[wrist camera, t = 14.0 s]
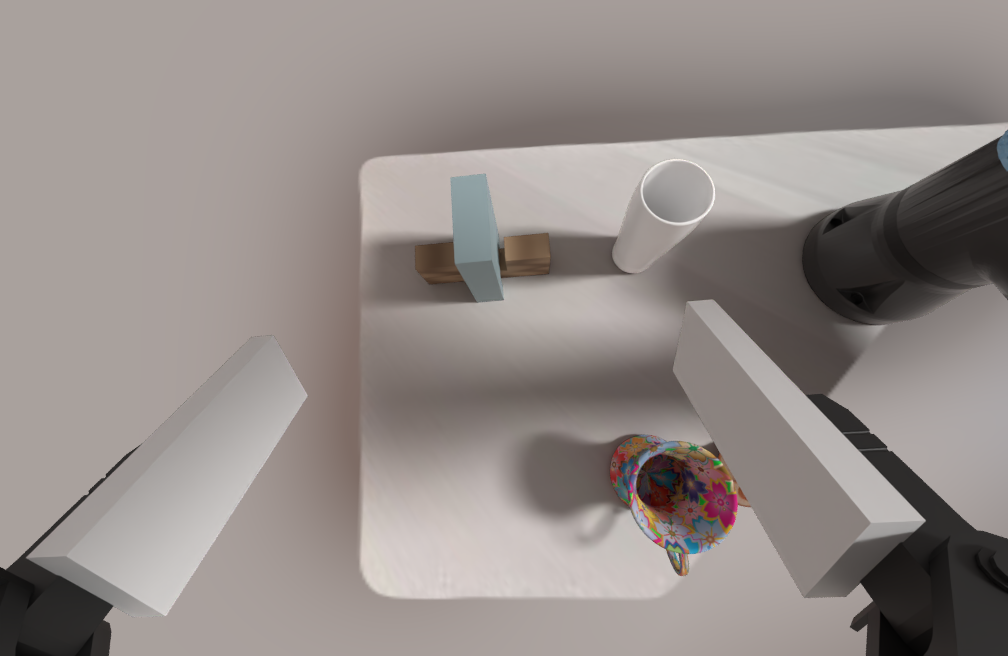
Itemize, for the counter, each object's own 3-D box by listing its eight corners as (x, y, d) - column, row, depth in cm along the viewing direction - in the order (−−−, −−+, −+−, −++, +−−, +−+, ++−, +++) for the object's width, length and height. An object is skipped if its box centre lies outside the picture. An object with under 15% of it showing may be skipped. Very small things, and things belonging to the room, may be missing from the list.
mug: (601, 431, 43) (623, 442, 33) (681, 429, 42) (729, 439, 32) (610, 540, 41) (637, 590, 30) (695, 540, 40) (751, 590, 30)
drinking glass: (665, 241, 47) (726, 170, 32) (648, 287, 46) (703, 236, 31) (615, 224, 48) (652, 148, 33) (598, 269, 47) (628, 211, 32)
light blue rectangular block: (498, 236, 49) (485, 173, 35) (503, 300, 47) (491, 260, 33) (473, 238, 49) (450, 177, 35) (477, 302, 47) (454, 263, 34)
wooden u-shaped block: (546, 252, 48) (548, 232, 42) (548, 273, 47) (550, 256, 42) (428, 263, 49) (415, 245, 43) (429, 284, 48) (415, 269, 43)
